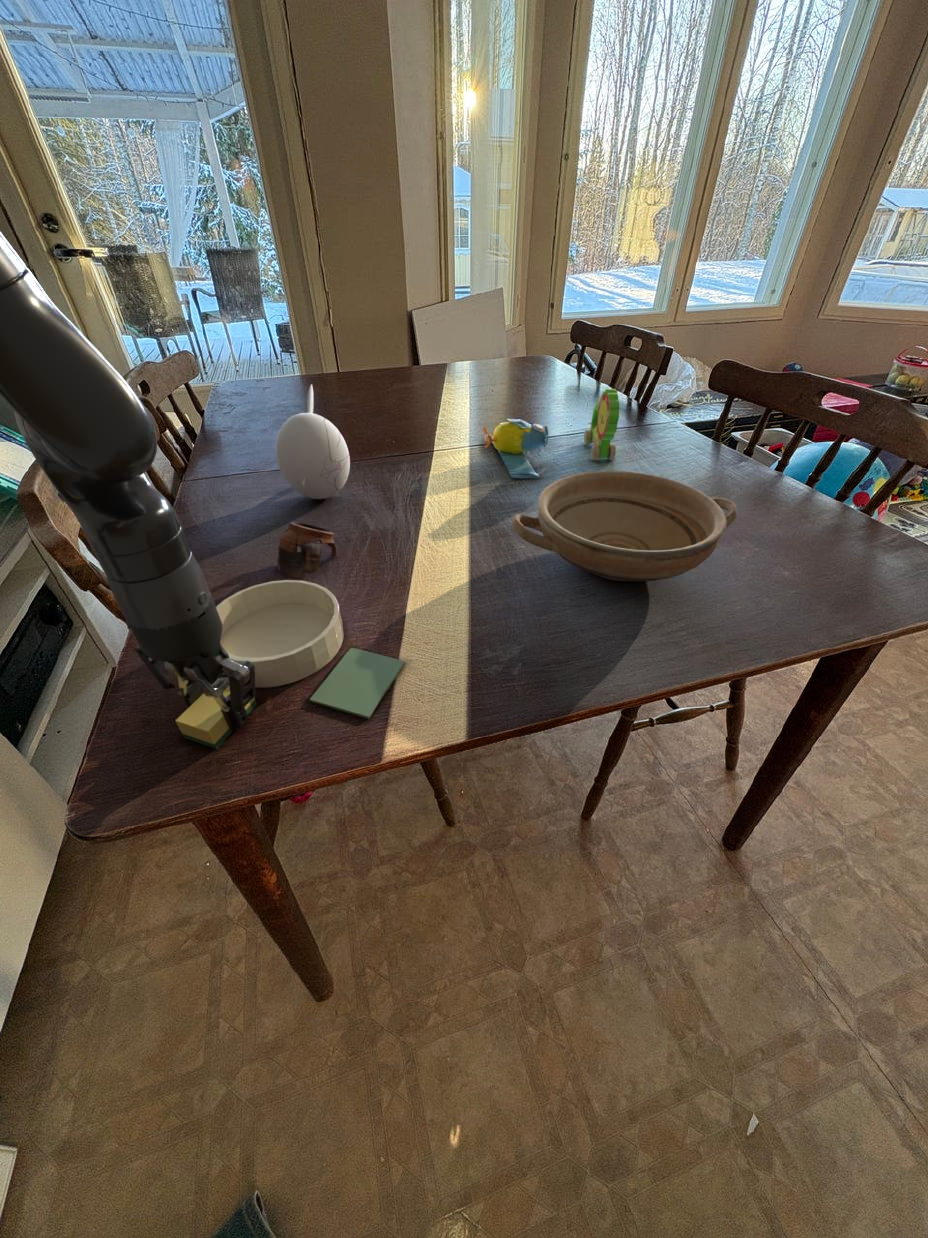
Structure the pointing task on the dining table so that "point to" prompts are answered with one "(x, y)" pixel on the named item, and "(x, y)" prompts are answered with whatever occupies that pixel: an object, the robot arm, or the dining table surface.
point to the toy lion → (603, 426)
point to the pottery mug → (302, 548)
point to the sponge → (207, 721)
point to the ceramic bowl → (627, 524)
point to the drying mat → (358, 682)
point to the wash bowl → (281, 629)
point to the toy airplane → (517, 445)
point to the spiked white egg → (312, 454)
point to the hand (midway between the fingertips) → (221, 718)
